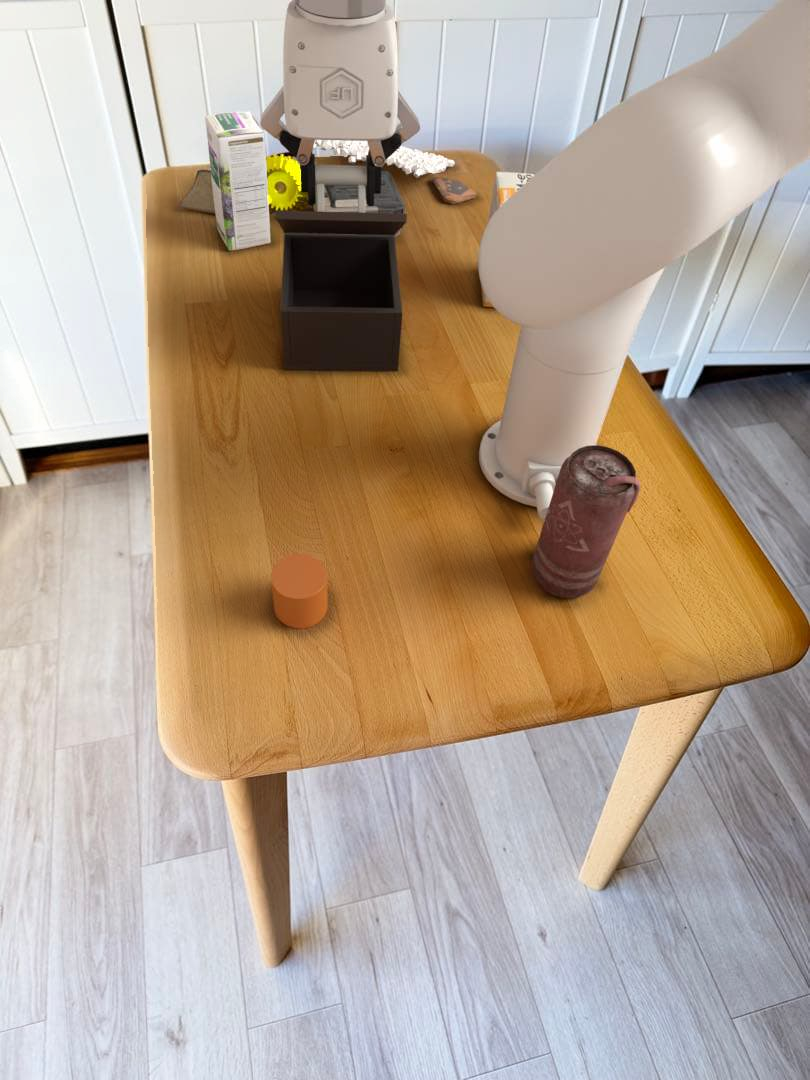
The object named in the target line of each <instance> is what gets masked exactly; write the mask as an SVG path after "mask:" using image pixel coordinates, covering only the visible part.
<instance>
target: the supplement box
mask: <svg viewBox="0 0 810 1080" xmlns="http://www.w3.org/2000/svg"><path fill="white" fill-rule="evenodd" d="M534 175H535V174H533V173H525V172H512V171H511V172H510V171H496V172H495V175H494V181H493V187H492V194H491V199H490V206H489V212H488V220H487V223H488V222H489V221H490V219H491V217H492V216H493V215H494V213H495V212H496V211H497V210H498V209H499V208H500V206H501V205H502V204H503V203H505V202H506V201H507V200H508V199H509V198H510V197H511V196H512V195H513V194H514V193H515V192H517V191H518V190H519V189H520V188H521V187H522V186H523V185H524V184H526V183H527V182H528V181H529V180H530V179H531V178H532V177H533V176H534ZM480 288H481V289H480V290H481V299H482V300H481V301H482V306H483V307H484V308H485V307H486V308H494V307H493V306H492V304H491V303H490V302H489V300H488V298H487V297H486V295H485V292H484V290H483V288H482V285H481V284H480Z"/></svg>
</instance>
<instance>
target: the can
mask: <svg viewBox="0 0 810 1080" xmlns="http://www.w3.org/2000/svg"><path fill="white" fill-rule="evenodd" d="M641 488H642V485H641V482H640V480H639V479H638V478H637V470H636V468H635V466H634V464H633V463H632V461H630V459H629V458H628V457H627V456H626V455H624V454H623V453H622V452H620V451H619V450H617V449H614V448H611V447H609V446H606V445H605V446H604V445H599V444H597V445H591V446H585V447H582V448H579V449H577V450H576V451H575V452H573V453H572V454H571V456H569V457H568V458H566V459H565V461H564V463H563V464H562V466H561V469H560V472H559V476H558V479H557V482H556V485H555V488H554V492H553V495H552V498H551V501H550V505H549V508H548V511H547V514H546V517H545V520H543V523H542V527H541V531H540V534H539V537H538V540H537V544H536V547H535V550H534V553H533V556H532V560H531V571H532V575H533V578H534V579H535V580H536V582H537V583H538V585H539V587H541V588H542V589H543V590H544V591H546V592H547V593H548V594H550V595H552V596H555V597H557V598H562V599H563V598H564V599H573V598H574V599H575V598H580V597H582V596H585V595H587V594H589V593H590V592H591V591H592V590H593V589H595V587H596V584H597V583H598V582H599V581H598V580H599V578H600V576H601V574H602V571H603V569H604V567H605V564H606V562H607V560H608V558H609V555H610V553H611V550H612V548H613V546H614V544H615V541H616V540H617V539H616V538H617V536H618V533H619V532H620V530H621V527H622V526H623V525H622V524H623V522H624V521H625V518H626V515H627V513H630V511H631V510H632V508H633V507H634V505H635V503H636V502H637V499H638V496H639V493H640V491H641Z"/></svg>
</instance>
